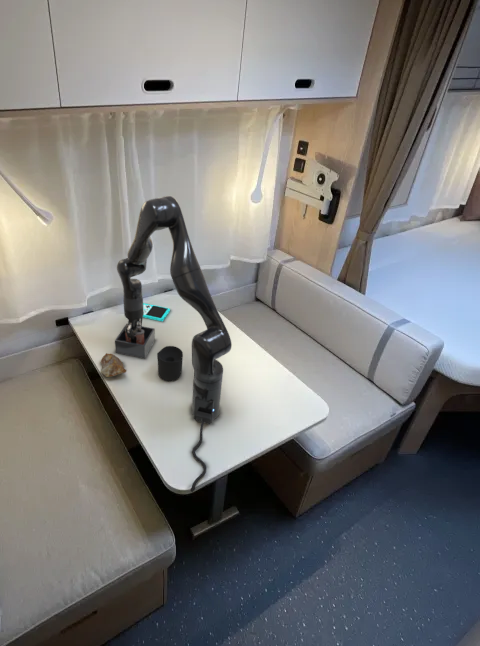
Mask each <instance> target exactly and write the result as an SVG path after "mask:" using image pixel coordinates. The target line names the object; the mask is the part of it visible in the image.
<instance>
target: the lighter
mask: <svg viewBox="0 0 480 646" xmlns="http://www.w3.org/2000/svg"><path fill="white" fill-rule="evenodd" d="M126 324H127V325H126ZM126 324H125V325H126V328H128V327H129V325H128V323H126ZM125 333H126V331H125ZM133 333H134V332H133ZM136 340H137V343H136V344H141V345H144V330H142V329H141V326H138V331H137V332H136ZM126 342H131V338H128V336H127V334H126Z"/></svg>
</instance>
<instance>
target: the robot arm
mask: <svg viewBox="0 0 480 646" xmlns="http://www.w3.org/2000/svg"><path fill="white" fill-rule="evenodd" d="M165 229H168V230H169V233H170V236H171V241H172V254H171V259H170V267H169V270H170V271H169V272H170V278H171V280H172V283H173V286H174V288H175V291H176V292H177V294H178V296H179V297H180V298H181V299H182V300H183V301H184V302H185V303H187V305H189V306H190V307H191V308H193V309H194V310H195V311H196V312H197V313H198V314H199V315H200V317H201V319H202V321H203V323H204V325H205V327H206V329H205V330H202V331H200V332H198V333H197V334H195V335H194V336H193V338H192V339H191V365H192V368H193V381H192V403H191V404H192V405H191V413H192V415H193V419H194V420H195V422H198V423H199V422H200V428H199V440H198V442H197V444H195V445H194V447H193V448H192V451H191V454H192V456H193V458H194V459H195V460H196V461H197V462H199V464H201V466H202V468H203V469H202V472H201V473H200V474H199V475H198V476H197V477H196V478H195V480H194V481H193V482H192V484H191V486H190V487H191V488H190V492H191V493H193V492H194V491H195V487H196V486H197V484H198V482H199V481H200V480H202V478H203V477H204V476H205V474H206V473H207V465H206V463H205V461H203V460H202V459H201V458H200V457H198V456H197V455H196V450H197V449H198V448H199V447H200V446H201V444H202V442H203V430H204V424H208V425H211V424H212V422H213V421H214V420H216V419H217V418H218V417H219V415H220V406H221V398H222V397H221V396H222V386H223V377H224V366H223V363H221V362H220V361H219V360H218V359H219V358H221V357H223V356H225V355H227V354H228V353H230V351H231V350H232V345H233V344H232V339H231V337H230V333H229V331H228V329H227V327H226V324H225V322H224V320H223V319H222V317H221V314H220V313H219V311H218V309H217V307H216V305H215V302H214V299H213V297H212V294H211V292H210V290H209V287H208V283H207V281H206V279H205V276H204V273H203V270H202V268H201V266H200V262H199V261H198V259H197V255H196V254H195V253H196V252H195V250H194V248H193V245H192V242H191V239H190V236H189V233H188V229H187V226H186V221H185V218H184V214H183V211H182V208H181V206H180V204H179V202H178V201H177V198H175V197H174V196H172V195H164V196H160V197H155V198H151V199H148V200H146V201H144V202H143V204H142V205H141V208H140V211H139V215H138V219H137V223H136V230H135V234H134V238H133V240H132V242H131V245H130V247H129V249H128V251H127V255H126V256H127V257H126V258H122V259H120V260H119V261H118V262H117V265H116V271H117V274H118V276H119V279H120V281H121V285H122V290H123V314H124V317H125V319H127V320H128V321H127V324H128V325H129V327H128V328H126V329H125V331H126V334H127V336H128V338H131V343H137V340H136V332H137V331H138V326H143V318H144V317H143V315H144V311H143V303H144V297H143V285H142V282H141V281H140V279H137V278H133V277H136V276H140V275H142V274H144V273H145V272H146V270H147V262H148V258H149V257H150V255H151V254H152V251H153V247H154V246H153V245H154V243H153V240H152V238H151V236H152V235H153V234H154V233H155V232H156V231H163V230H165ZM133 332H134V333H133Z"/></svg>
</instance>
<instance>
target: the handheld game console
mask: <svg viewBox="0 0 480 646" xmlns="http://www.w3.org/2000/svg"><path fill="white" fill-rule="evenodd" d="M143 311H144V315H143V318H145V319H148V320H149V319H150V320H154V321H158V322H164V321H165V319H166V318H167V316H169V313H170V312H171V308H169V307H165V306H159V305H154V304H151V303H150V304H149V303H145V302H143Z"/></svg>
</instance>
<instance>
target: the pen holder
mask: <svg viewBox="0 0 480 646" xmlns="http://www.w3.org/2000/svg"><path fill="white" fill-rule="evenodd" d="M156 357H157V373H158V376H159V378H160V379H161V380H163V381H164V382H169V383H170V382H176V381H178V380H179V379H180V378H181V377H182V371H183V360H184V359H183V358H184V351H183V350H182V349H181V348H179V347H178V346H174V345H166V346H164V347H163V348H161V349H160V350H159V351H158V352H157V353H156Z"/></svg>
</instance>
